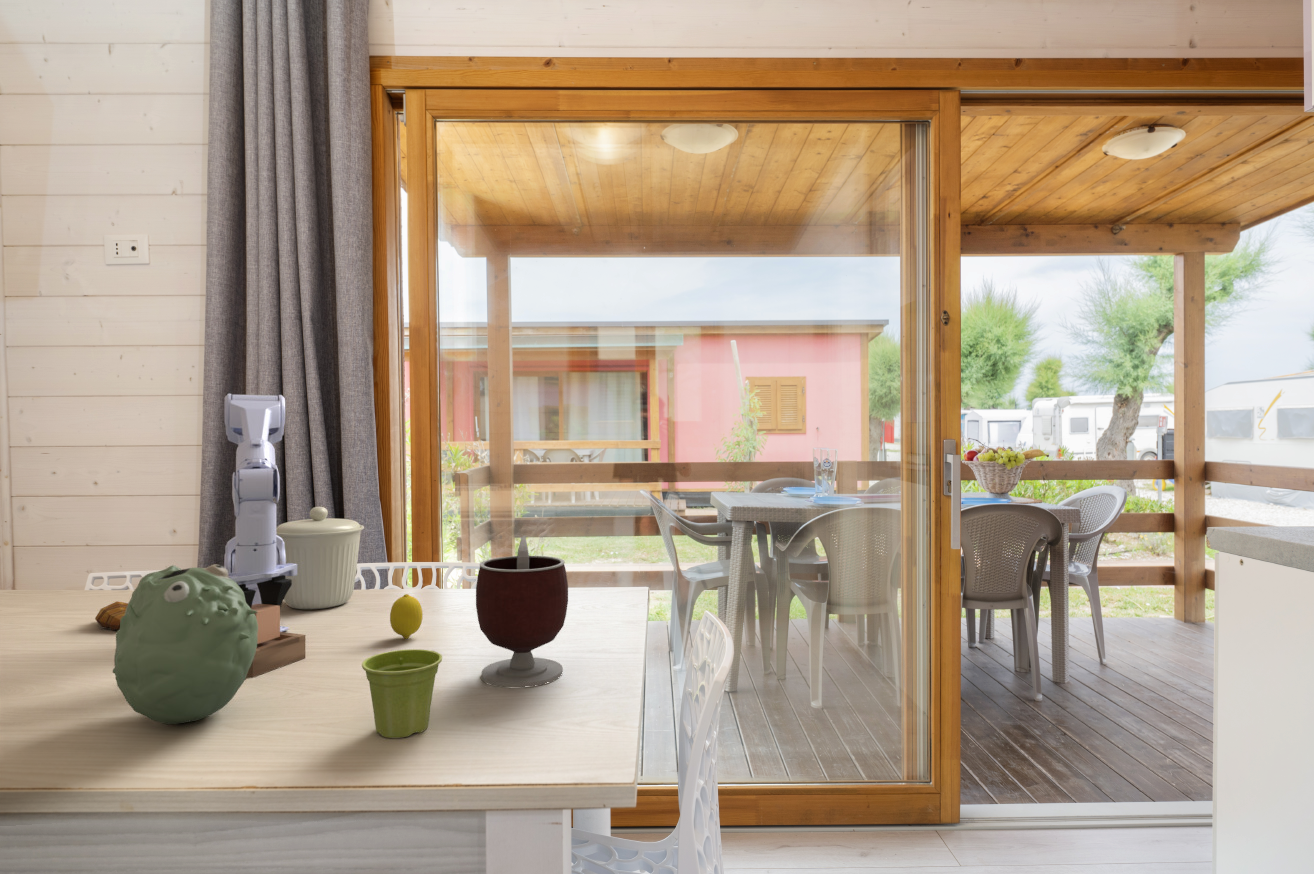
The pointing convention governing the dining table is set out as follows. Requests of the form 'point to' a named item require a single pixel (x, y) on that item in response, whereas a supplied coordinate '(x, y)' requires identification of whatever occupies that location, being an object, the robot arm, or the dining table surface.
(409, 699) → the plant pot
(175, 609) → the green pufferfish toy
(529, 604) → the mate gourd
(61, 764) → the dining table surface
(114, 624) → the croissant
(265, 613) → the block
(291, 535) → the canister
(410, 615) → the lemon
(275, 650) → the walnut base
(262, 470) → the robot arm
